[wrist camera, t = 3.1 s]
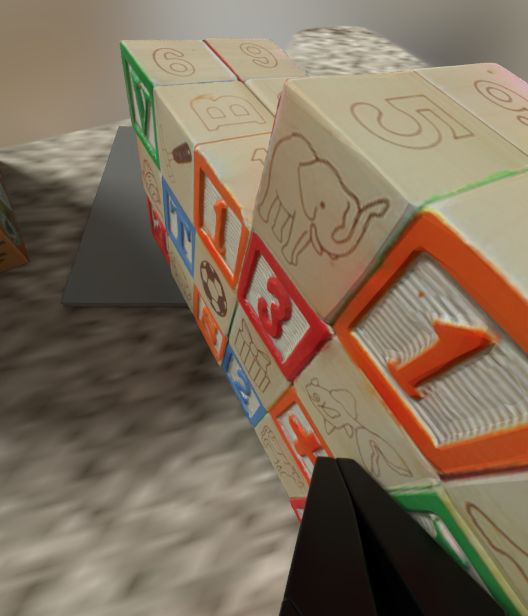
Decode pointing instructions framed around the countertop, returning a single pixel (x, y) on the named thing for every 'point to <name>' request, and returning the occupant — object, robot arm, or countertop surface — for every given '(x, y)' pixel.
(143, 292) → the mat
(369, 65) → the countertop surface
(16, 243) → the milk carton
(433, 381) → the stack of blocks
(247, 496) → the countertop surface
